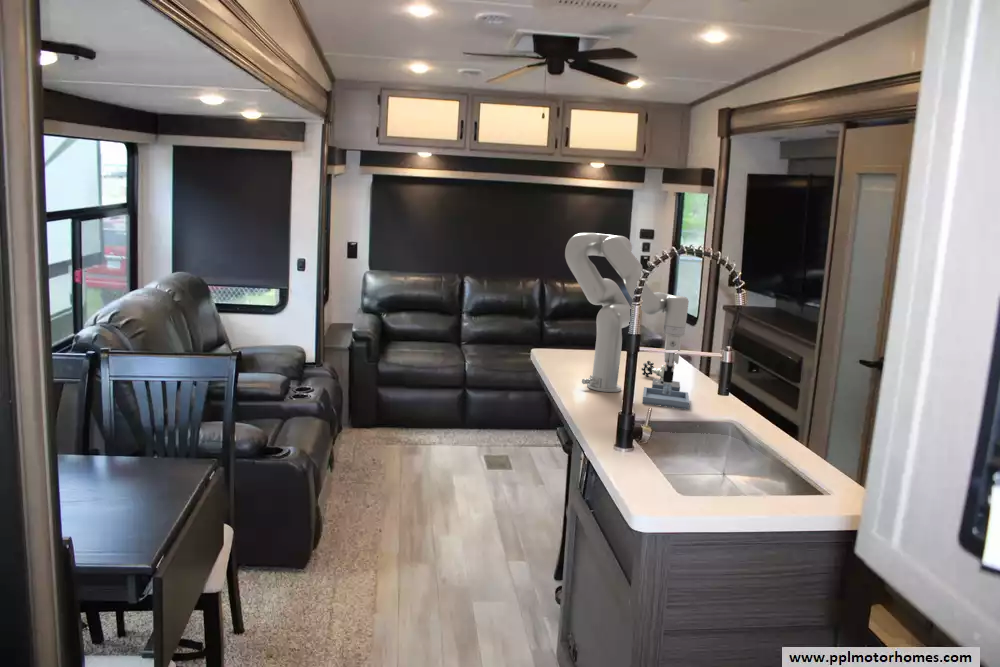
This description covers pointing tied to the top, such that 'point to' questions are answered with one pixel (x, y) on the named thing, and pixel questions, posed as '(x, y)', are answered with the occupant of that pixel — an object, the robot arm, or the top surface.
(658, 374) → the valve
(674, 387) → the block
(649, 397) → the parts tray
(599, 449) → the top surface
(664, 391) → the lock pin
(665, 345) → the robot arm
